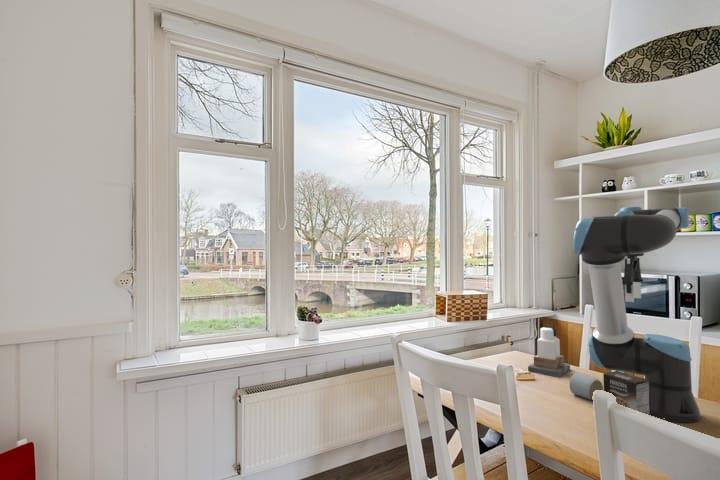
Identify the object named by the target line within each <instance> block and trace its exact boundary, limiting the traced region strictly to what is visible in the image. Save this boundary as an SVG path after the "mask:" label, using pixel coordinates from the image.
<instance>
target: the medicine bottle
mask: <svg viewBox="0 0 720 480" xmlns="http://www.w3.org/2000/svg"><path fill="white" fill-rule="evenodd" d="M539 332H540V335H539V336H540V337H539V338H538V339H537V340H536V346H537V347H536V348H537V354H536V355H538V356H539V357H546V358H552V359H556V358H557V357H558V356H561V347H560V345H561V343H560V338H559V337H558V338H557V329H556V328H555V327H552V326H542V327H540V331H539Z"/></svg>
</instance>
